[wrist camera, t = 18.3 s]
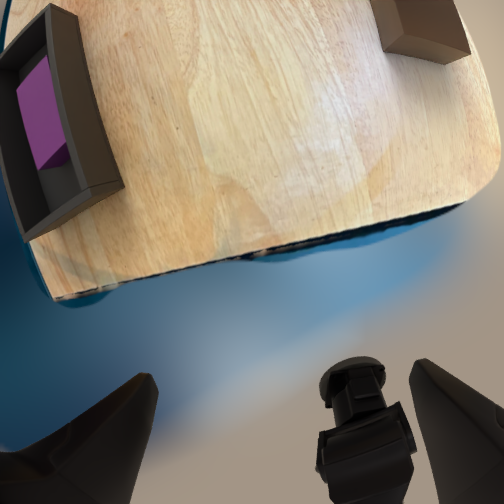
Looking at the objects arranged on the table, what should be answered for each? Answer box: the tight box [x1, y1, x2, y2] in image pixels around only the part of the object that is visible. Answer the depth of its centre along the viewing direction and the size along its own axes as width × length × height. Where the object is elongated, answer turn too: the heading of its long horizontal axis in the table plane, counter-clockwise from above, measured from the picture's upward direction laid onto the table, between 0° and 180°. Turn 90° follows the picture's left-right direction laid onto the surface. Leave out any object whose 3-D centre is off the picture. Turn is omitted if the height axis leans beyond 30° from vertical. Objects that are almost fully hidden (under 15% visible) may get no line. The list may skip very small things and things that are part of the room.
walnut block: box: [370, 0, 471, 65], centre depth 11 cm, size 6×6×4 cm
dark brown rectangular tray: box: [0, 3, 125, 243], centre depth 15 cm, size 19×9×4 cm, turn 20°
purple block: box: [16, 55, 71, 171], centre depth 15 cm, size 4×3×9 cm
